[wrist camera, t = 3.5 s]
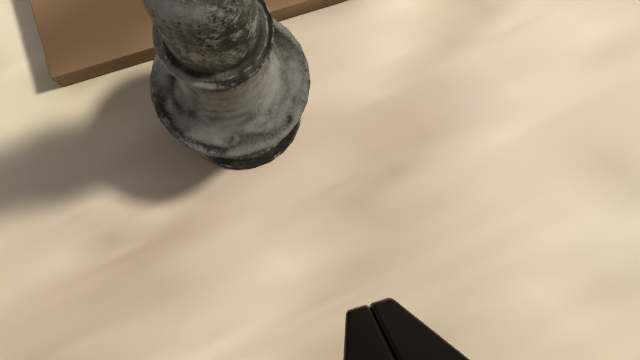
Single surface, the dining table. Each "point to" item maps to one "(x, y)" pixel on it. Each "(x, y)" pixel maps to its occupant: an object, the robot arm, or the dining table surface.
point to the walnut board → (113, 33)
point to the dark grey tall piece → (227, 79)
